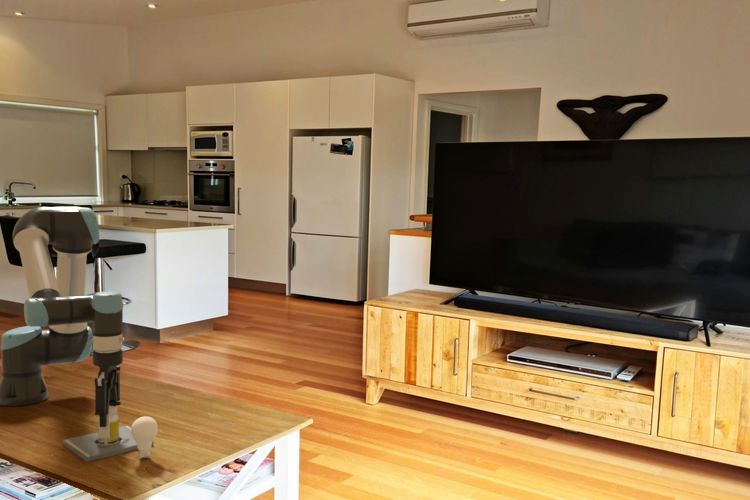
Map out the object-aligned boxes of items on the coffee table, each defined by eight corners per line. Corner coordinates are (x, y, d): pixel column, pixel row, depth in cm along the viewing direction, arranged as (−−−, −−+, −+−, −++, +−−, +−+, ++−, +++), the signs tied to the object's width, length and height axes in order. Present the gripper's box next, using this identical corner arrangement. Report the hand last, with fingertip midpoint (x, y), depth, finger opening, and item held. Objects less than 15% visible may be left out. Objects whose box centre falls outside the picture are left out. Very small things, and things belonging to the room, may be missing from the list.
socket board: (63, 444, 185) (62, 439, 184) (127, 429, 197) (127, 425, 197) (87, 462, 173) (87, 457, 173) (153, 445, 186) (153, 440, 186)
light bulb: (134, 453, 180) (134, 412, 179) (160, 453, 180) (160, 412, 179) (127, 463, 173) (127, 421, 172) (154, 463, 174) (154, 421, 173)
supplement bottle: (121, 439, 188) (121, 404, 187) (115, 446, 183) (115, 411, 182) (100, 439, 188) (100, 404, 187) (95, 447, 182) (94, 411, 181)
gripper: (110, 358, 174) (110, 446, 176) (132, 342, 192) (132, 422, 194) (80, 357, 174) (81, 446, 176) (105, 341, 192) (105, 421, 194)
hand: (108, 433), depth 185 cm, fingers closed on supplement bottle, 5 cm apart
